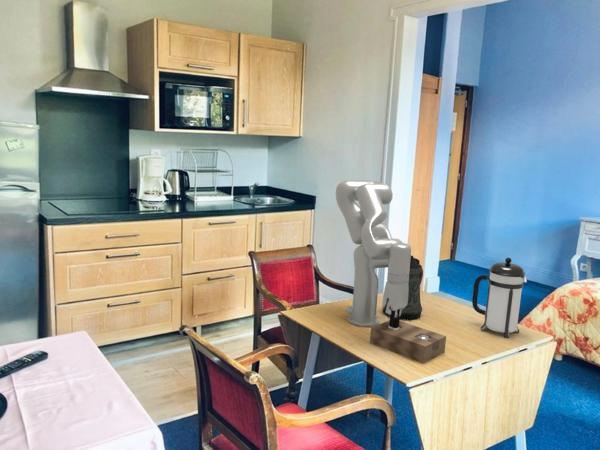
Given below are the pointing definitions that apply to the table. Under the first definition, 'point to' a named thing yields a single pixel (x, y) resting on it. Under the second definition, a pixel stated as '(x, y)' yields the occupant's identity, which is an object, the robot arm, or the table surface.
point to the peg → (423, 337)
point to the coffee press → (501, 297)
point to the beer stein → (412, 292)
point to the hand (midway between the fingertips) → (394, 326)
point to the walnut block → (408, 341)
